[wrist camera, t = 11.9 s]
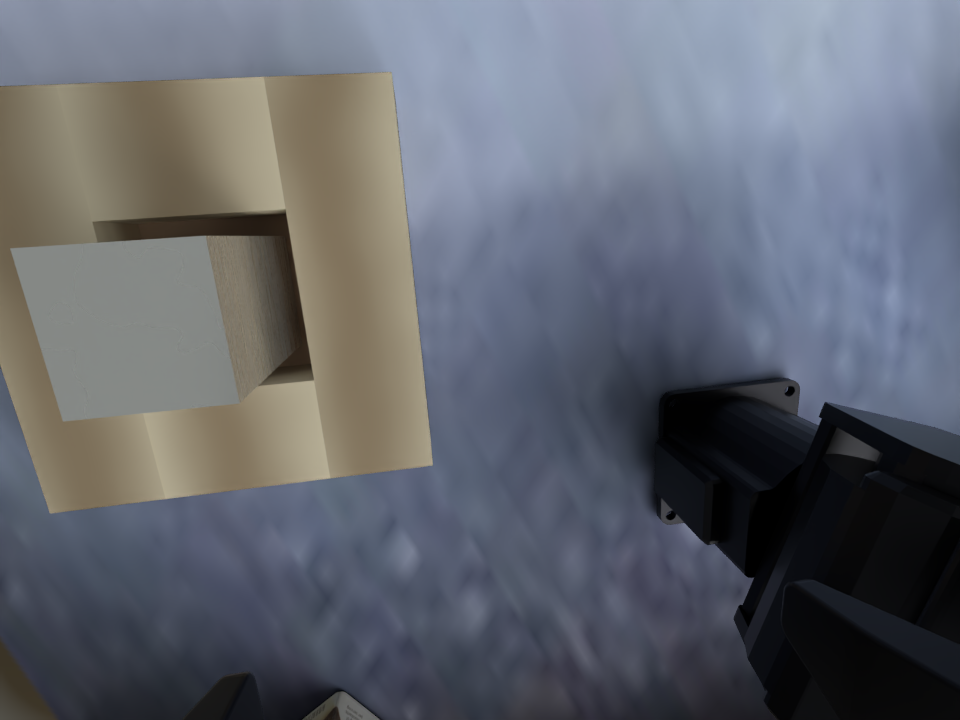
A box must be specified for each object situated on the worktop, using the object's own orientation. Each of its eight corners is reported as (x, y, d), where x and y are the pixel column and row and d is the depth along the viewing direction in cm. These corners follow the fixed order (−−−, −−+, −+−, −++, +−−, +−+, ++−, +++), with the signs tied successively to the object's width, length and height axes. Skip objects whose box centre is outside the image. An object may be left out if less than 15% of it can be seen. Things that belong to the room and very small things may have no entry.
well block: (395, 99, 17) (391, 72, 15) (430, 433, 21) (432, 465, 18) (-1, 116, 16) (-93, 89, 13) (104, 472, 19) (49, 513, 16)
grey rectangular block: (285, 236, 18) (205, 235, 11) (302, 343, 19) (239, 403, 12) (168, 244, 17) (9, 248, 10) (193, 353, 18) (62, 421, 11)
